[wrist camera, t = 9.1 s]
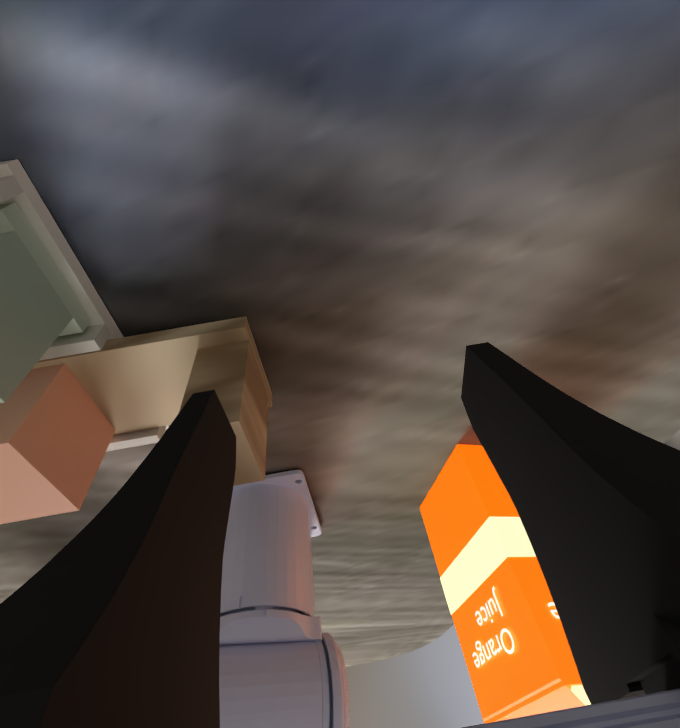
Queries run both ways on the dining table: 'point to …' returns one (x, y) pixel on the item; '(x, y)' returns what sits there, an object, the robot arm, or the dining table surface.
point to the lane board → (15, 186)
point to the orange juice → (497, 593)
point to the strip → (30, 300)
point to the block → (49, 445)
